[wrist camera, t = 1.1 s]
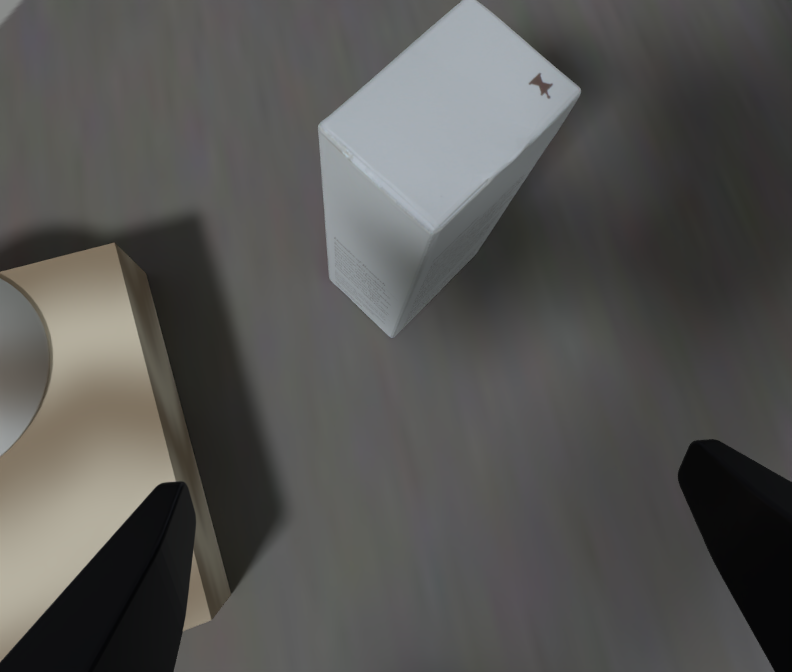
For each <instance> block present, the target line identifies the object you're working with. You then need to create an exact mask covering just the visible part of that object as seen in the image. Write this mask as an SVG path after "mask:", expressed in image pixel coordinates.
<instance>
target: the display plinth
mask: <svg viewBox="0 0 792 672" xmlns="http://www.w3.org/2000/svg"><path fill="white" fill-rule="evenodd" d="M177 481H183V482H185V483H186V484H187V486H188V488H189V492H190V495H191V499H192V503H193V506H194V510H195V514H196V531H195V540H194V549H193V558H192V567H191V575H190V584H189V593H188V602H187V610H186V617H185V622H184V627H183V631H185V630H187V629H190V628H192V627H195V626H198V625H200V624H203V623H205V622H208V621H211V620H212V619H213V618H214V616H215V615H216V614H217V612H218V611H219V610H220V608H221V607H222V606H223V605H224V603H225V602H226V601H227V599H228V598H229V597H230V596H231V592H230V588H229V584H228V581H227V577H226V573H225V569H224V565H223V562H222V558H221V554H220V550H219V547H218V543H217V539H216V535H215V532H214V528H213V524H212V520H211V516H210V513H209V509H208V505H207V501H206V498H205V494H204V490H203V486H202V483H201V479H200V475H199V471H198V467H197V464H196V460H195V456H194V452H193V449H192V445H191V441H190V437H189V434H188V430H187V426H186V422H185V418H184V415H183V411H182V407H181V403H180V400H179V396H178V392H177V388H176V385H175V381H174V377H173V373H172V369H171V366H170V362H169V358H168V354H167V351H166V347H165V343H164V339H163V336H162V332H161V328H160V324H159V320H158V317H157V313H156V309H155V305H154V302H153V298H152V294H151V290H150V287H149V283H148V279H147V275H146V273H145V272H144V271H143V270H142V269H141V268H140V267H139V266H138V265H137V264H136V263H135V262H134V261H133V260H132V259H131V258H130V257H129V256H128V255H127V254H126V253H125V252H124V251H123V250H122V249H121V248H120V247H119V246H118V245H117V244H116V243H111V244H107V245H103V246H99V247H95V248H91V249H87V250H83V251H79V252H76V253H72V254H68V255H64V256H60V257H56V258H52V259H48V260H44V261H40V262H37V263H33V264H29V265H25V266H21V267H17V268H13V269H9V270H5V271H1V272H0V662H1V660H2V659H3V658H4V657H5V656H6V655H7V654H8V653H9V651H10V650H11V649H12V648H13V647H14V646H15V645H16V644H17V642H18V641H19V640H20V639H21V638H22V637H23V636H24V635H25V633H26V632H27V631H28V630H29V629H30V628H31V627H32V626H33V624H34V623H35V622H36V621H37V620H38V619H39V618H40V617H41V615H42V614H43V613H44V612H45V611H46V610H47V609H48V608H49V606H50V605H51V604H52V603H53V602H54V601H55V600H56V599H57V597H58V596H59V595H60V594H61V593H62V592H63V591H64V590H65V588H66V587H67V586H68V585H69V584H70V583H71V582H72V581H73V579H74V578H75V577H76V576H77V575H78V574H79V573H80V572H81V570H82V569H83V568H84V567H85V566H86V565H87V564H88V563H89V561H90V560H91V559H92V558H93V557H94V556H95V555H96V554H97V552H98V551H99V550H100V549H101V548H102V547H103V546H104V545H105V543H106V542H107V541H108V540H109V539H110V538H111V537H112V536H113V534H114V533H115V532H116V531H117V530H118V529H119V528H120V527H121V525H122V524H123V523H124V522H125V521H126V520H127V519H128V518H129V516H130V515H131V514H132V513H133V512H134V511H135V510H136V509H137V507H138V506H139V505H140V504H141V503H142V502H143V501H144V500H145V498H146V497H147V496H148V495H149V494H150V493H151V492H152V491H153V489H154V488H155V487H156V486H157V485H159V484H160V483H164V482H177Z"/></svg>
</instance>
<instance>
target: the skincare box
mask: <svg viewBox="0 0 792 672" xmlns="http://www.w3.org/2000/svg"><path fill="white" fill-rule="evenodd" d="M580 94H581V89H580V87H579V86H577V85H576V84H575V83H574V82H573V81H571V80H570V79H569V78H568V77H567V76H565V75H564V74H563V73H562V72H561V71H559V70H558V69H557V68H556V67H555V66H554V65H552V64H551V63H550V62H549V61H548V60H546V59H545V58H544V57H543V56H542V55H541V54H539V53H538V52H537V51H536V50H535V49H534V48H532V47H531V46H530V45H529V44H528V43H527V42H526V41H525V40H523V39H522V38H521V37H520V36H519V35H518V34H516V33H515V32H514V31H513V30H512V29H511V28H509V27H508V26H507V25H506V24H505V23H504V22H503V21H501V20H500V19H499V18H498V17H497V16H496V15H494V14H493V13H492V12H491V11H489V10H488V9H487V8H486V7H484V6H483V5H482V4H481V3H479V2H478V1H477V0H462V1H461V2H460V3H459V4H458V5H456V6H455V7H454V8H453V9H452V10H450V11H449V12H448V13H447V14H446V15H445V16H443V17H442V18H441V19H440V20H439V21H438V22H437V23H435V24H434V25H433V26H432V27H431V28H429V29H428V30H427V31H426V32H425V33H424V34H423V35H421V36H420V37H419V38H418V39H417V40H416V41H415V42H413V43H412V44H411V45H410V46H409V47H408V48H406V49H405V50H404V51H403V52H402V53H401V54H400V55H399V56H397V57H396V58H395V59H394V60H393V61H392V62H391V63H390V64H388V65H387V66H386V67H385V68H384V69H383V70H382V71H381V72H379V73H378V74H377V75H376V76H375V77H374V78H372V79H371V80H370V81H369V82H368V83H367V84H366V85H364V86H363V87H362V88H361V89H360V90H359V91H358V92H356V93H355V94H354V95H353V96H352V97H351V98H349V99H348V100H347V101H346V102H345V103H344V104H342V105H341V106H340V107H339V108H338V109H337V110H335V111H334V112H333V113H332V114H331V115H330V116H328V117H327V118H326V119H324V120H323V121H322V122H321V123H320V124H319V126H318V132H319V147H320V159H321V173H322V187H323V200H324V213H325V228H326V241H327V255H328V269H329V278H330V280H331V281H332V282H333V283H334V284H335V285H336V286H337V287H338V288H339V289H340V290H342V291H343V292H344V293H345V294H346V295H347V296H348V297H349V298H350V299H351V300H352V301H353V302H354V303H355V304H356V305H357V306H358V307H359V308H360V309H361V310H362V311H363V312H364V313H365V314H366V315H367V316H368V317H369V318H371V319H372V320H373V321H374V322H375V323H376V324H377V325H378V326H379V327H380V328H381V329H382V330H383V331H384V332H385V333H386V334H387V335H388V336H389V337H391V338H394V337H395V336H396V335H397V334H398V333H399V332H400V331H401V330H402V329H403V328H404V327H405V326H406V325H407V324H408V323H409V322H410V321H411V320H412V319H413V318H414V317H415V316H416V315H417V314H418V313H419V312H420V311H421V310H422V309H423V308H424V307H425V306H426V305H427V304H428V303H429V302H430V301H431V300H432V299H433V298H434V297H435V296H436V295H437V294H438V293H439V292H440V291H441V290H442V288H443V287H444V286H445V285H446V284H447V283H448V282H449V281H450V280H451V279H452V278H453V277H454V276H455V275H456V274H457V273H458V272H459V271H460V270H461V269H462V268H463V267H464V266H465V265H466V264H467V263H468V262H469V261H470V260H471V259H472V258H473V257H474V256H475V255H476V254H477V252H478V251H479V249H480V247H481V246H482V244H483V243H484V242H485V240H486V239H487V237H488V236H489V234H490V233H491V231H492V229H493V228H494V226H495V225H496V223H497V222H498V220H499V219H500V217H501V216H502V214H503V212H504V211H505V209H506V208H507V206H508V205H509V203H510V202H511V200H512V199H513V197H514V196H515V194H516V193H517V191H518V190H519V188H520V187H521V185H522V184H523V182H524V181H525V179H526V178H527V176H528V175H529V173H530V172H531V170H532V169H533V167H534V166H535V164H536V162H537V161H538V159H539V158H540V157H541V155H542V153H543V152H544V150H545V149H546V147H547V146H548V145H549V143H550V142H551V140H552V139H553V137H554V136H555V135H556V133H557V132H558V130H559V129H560V127H561V125H562V124H563V122H564V121H565V119H566V118H567V116H568V114H569V113H570V111H571V109H572V108H573V106H574V105H575V103H576V101H577V100H578V98H579V97H580Z"/></svg>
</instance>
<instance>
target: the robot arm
mask: <svg viewBox="0 0 792 672" xmlns="http://www.w3.org/2000/svg"><path fill="white" fill-rule="evenodd" d="M678 481H679V484H680V487H681V489H682V492H683V494H684V496H685V498H686V501H687V503H688V505H689V508H690V510H691V512H692V514H693V517H694V519H695V521H696V523H697V526H698V528H699V530H700V533H701V535H702V537H703V539H704V542H705V544H706V546H707V549H708V551H709V553H710V555H711V557H712V559H713V561H714V563H715V565H716V567H717V569H718V571H719V573H720V574H721V576H722V578H723V580H724V582H725V583H726V585H727V587H728V589H729V591H730V592H731V594H732V596H733V598H734V599H735V601H736V603H737V605H738V607H739V608H740V610H741V612H742V614H743V616H744V617H745V619H746V621H747V623H748V624H749V626H750V628H751V630H752V632H753V633H754V635H755V637H756V639H757V641H758V642H759V644H760V646H761V648H762V649H763V651H764V653H765V655H766V657H767V658H768V660H769V662H770V664H771V666H772V667H773V669H774V671H775V672H792V482H790V481H788V480H787V479H785V478H783V477H781V476H780V475H778V474H776V473H774V472H773V471H771V470H769V469H767V468H766V467H764V466H762V465H760V464H759V463H757V462H755V461H753V460H752V459H750V458H748V457H746V456H745V455H743V454H741V453H739V452H738V451H736V450H734V449H732V448H731V447H729V446H727V445H725V444H724V443H722V442H720V441H718V440H714V439H709V440H696V441H694V442H692V443H691V444H690V446H689V447H688V450H687V452H686V454H685V457H684V459H683V461H682V464H681V466H680V468H679V471H678ZM195 531H196V514H195V510H194V506H193V503H192V499H191V495H190V492H189V488H188V486H187V484H186V483H185V482H183V481H177V482H164V483H160V484H159V485H157V486H156V487H155V488H154V489H153V491H152V492H151V493H150V494H149V495H148V496H147V497H146V498H145V500H144V501H143V502H142V503H141V504H140V505H139V506H138V507H137V509H136V510H135V511H134V512H133V513H132V514H131V515H130V516H129V518H128V519H127V520H126V521H125V522H124V523H123V524H122V525H121V527H120V528H119V529H118V530H117V531H116V532H115V533H114V534H113V536H112V537H111V538H110V539H109V540H108V541H107V542H106V543H105V545H104V546H103V547H102V548H101V549H100V550H99V551H98V552H97V554H96V555H95V556H94V557H93V558H92V559H91V560H90V561H89V563H88V564H87V565H86V566H85V567H84V568H83V569H82V570H81V572H80V573H79V574H78V575H77V576H76V577H75V578H74V579H73V581H72V582H71V583H70V584H69V585H68V586H67V587H66V588H65V590H64V591H63V592H62V593H61V594H60V595H59V596H58V597H57V599H56V600H55V601H54V602H53V603H52V604H51V605H50V606H49V608H48V609H47V610H46V611H45V612H44V613H43V614H42V615H41V617H40V618H39V619H38V620H37V621H36V622H35V623H34V624H33V626H32V627H31V628H30V629H29V630H28V631H27V632H26V633H25V635H24V636H23V637H22V638H21V639H20V640H19V641H18V642H17V644H16V645H15V646H14V647H13V648H12V649H11V650H10V651H9V653H8V654H7V655H6V656H5V657H4V658H3V659H2V660H1V662H0V672H174V667H175V663H176V659H177V654H178V650H179V645H180V641H181V637H182V632H183V627H184V622H185V617H186V610H187V602H188V593H189V584H190V575H191V567H192V558H193V549H194V540H195Z"/></svg>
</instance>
